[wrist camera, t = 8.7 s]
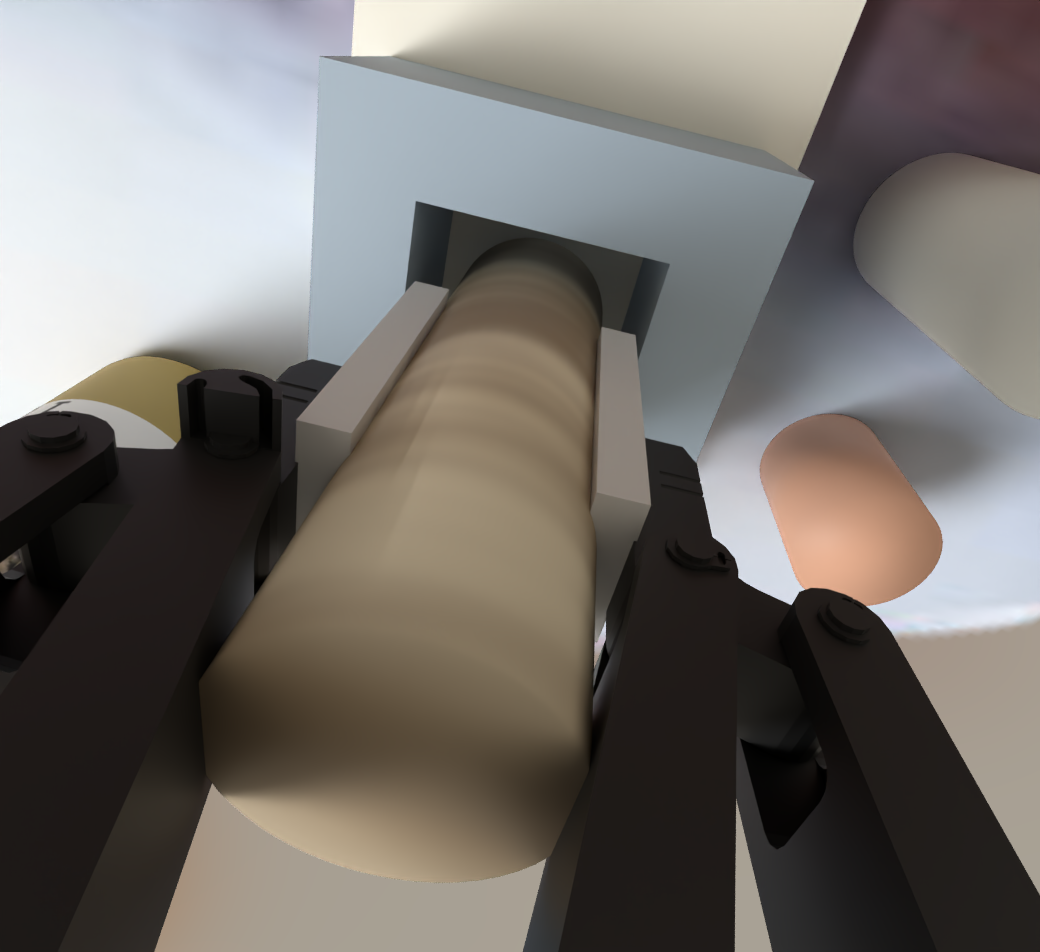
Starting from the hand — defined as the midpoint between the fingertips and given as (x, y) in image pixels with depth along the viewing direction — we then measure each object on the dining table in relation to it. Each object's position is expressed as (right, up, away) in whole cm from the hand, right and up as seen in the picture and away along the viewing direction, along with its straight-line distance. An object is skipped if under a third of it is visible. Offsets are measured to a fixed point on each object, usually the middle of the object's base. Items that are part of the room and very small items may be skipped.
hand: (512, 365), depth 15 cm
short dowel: (+11, -2, +8) cm, 14 cm away
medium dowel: (+12, +5, +4) cm, 13 cm away
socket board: (+1, +6, +4) cm, 8 cm away
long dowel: (0, +2, +3) cm, 4 cm away
